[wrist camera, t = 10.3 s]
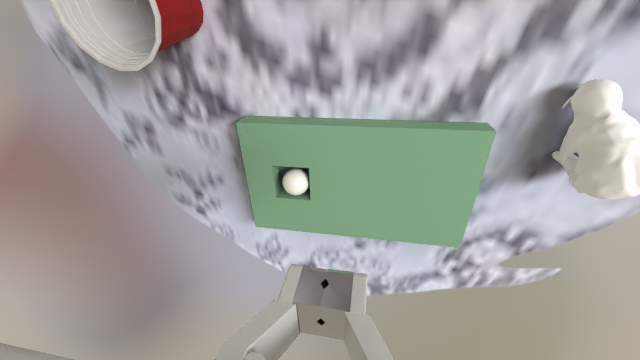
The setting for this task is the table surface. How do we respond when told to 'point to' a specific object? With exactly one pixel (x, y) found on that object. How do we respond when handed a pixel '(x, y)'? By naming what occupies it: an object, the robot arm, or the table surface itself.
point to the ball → (295, 181)
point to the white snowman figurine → (601, 143)
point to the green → (366, 176)
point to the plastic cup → (127, 27)
